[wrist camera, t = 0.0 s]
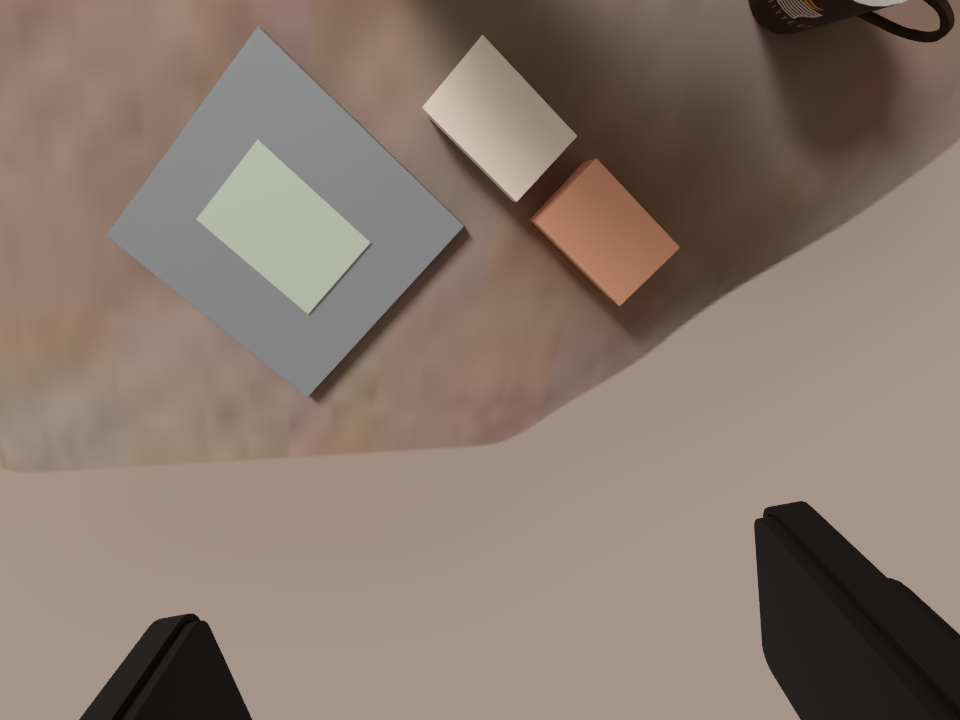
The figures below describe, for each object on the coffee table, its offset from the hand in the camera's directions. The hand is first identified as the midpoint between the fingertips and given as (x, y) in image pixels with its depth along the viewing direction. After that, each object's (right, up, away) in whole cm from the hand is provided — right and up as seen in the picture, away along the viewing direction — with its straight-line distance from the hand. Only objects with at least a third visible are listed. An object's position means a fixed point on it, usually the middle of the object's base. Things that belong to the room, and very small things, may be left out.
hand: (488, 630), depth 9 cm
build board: (-16, +15, +34) cm, 41 cm away
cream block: (+1, +22, +32) cm, 39 cm away
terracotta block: (+9, +15, +35) cm, 39 cm away
